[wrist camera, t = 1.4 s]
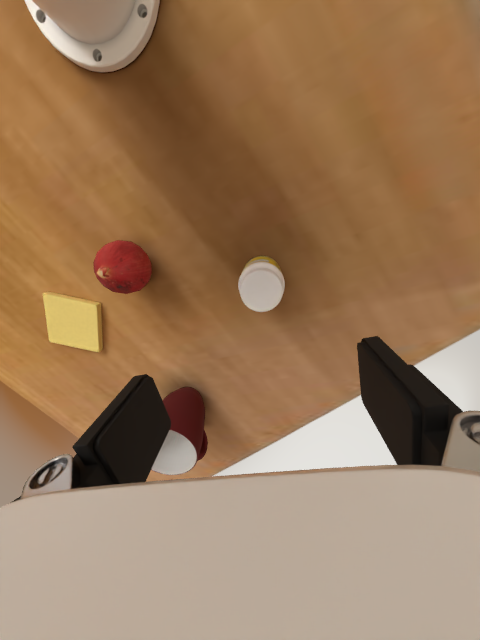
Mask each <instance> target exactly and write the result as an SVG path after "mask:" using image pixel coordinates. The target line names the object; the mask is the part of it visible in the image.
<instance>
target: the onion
mask: <svg viewBox="0 0 480 640" xmlns="http://www.w3.org/2000/svg"><path fill="white" fill-rule="evenodd" d="M94 272H95V274H96V277H97V279H98V280H99V281H100V282H101V283H102V285H103V286H105V287H106V288H108V289H109V290H111V291H113V292H118V293H124V294H128V293H132V292H136V291H140V290H141V289H142V288H143V287H144V286H145V285H146V284H147V283H148V282H149V280H150V277H151V273H152V270H151V262H150V260H149V257H148V255H147V254H146V253H145V252H144V250H143V249H142V248H141V247H139V246H138V245H136V244H134V243H133V242H128V241H118V240H117V241H114V242H111V243H108V244H106V245H104V246H103V247H102V248H101V249H100V250H99V251H98V252H97V254H96V257H95V260H94Z"/></svg>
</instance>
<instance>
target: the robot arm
mask: <svg viewBox="0 0 480 640" xmlns="http://www.w3.org/2000/svg"><path fill="white" fill-rule="evenodd" d="M25 3H26V5H27V7H28V9H29V11H30V13H31V15H32V17H33V19H34V21H35V22H36V24H37V25H38V27H39V28H40V30H41V32H42V33H43V35H44V36H45V37H46V38H47V39H48V40H49V41H50V43H51V44H52V45H53V46H54V47H55V48H56V49H57V50H58V51H60V52H61V53H62V54H63V55H64V56H65V57H66V58H68V59H69V60H71V61H72V62H74V63H75V64H77V65H78V66H80V67H83V68H85V69H88V70H90V71H96V72H112V71H116V70H118V69H121V68H123V67H125V66H127V65H128V64H129V63H131V62H132V61H134V60H135V59H136V57H137V56H138V55H139V54H140V53H141V52H142V50H143V49H144V47H145V46H146V44H147V42H148V40H149V39H150V37H151V34H152V31H153V28H154V26H155V23H156V19H157V14H158V8H159V3H160V0H25ZM357 350H358V362H359V374H360V386H361V397H362V400H363V404H364V406H365V407H366V409H367V411H368V413H369V415H370V416H371V418H372V420H373V422H374V424H375V425H376V427H377V429H378V431H379V432H380V434H381V436H382V438H383V440H384V441H385V443H386V445H387V447H388V449H389V450H390V452H391V454H392V456H393V457H394V459H395V461H396V463H397V465H381V466H360V467H344V468H325V469H312V470H298V471H283V472H269V473H256V474H255V473H254V474H242V475H229V476H215V477H202V478H189V479H176V480H164V481H152V482H145V481H146V479H147V477H148V475H149V473H150V470H151V468H152V466H153V464H154V462H155V460H156V458H157V456H158V453H159V451H160V449H161V447H162V445H163V443H164V441H165V439H166V436H167V434H168V432H169V430H170V428H171V419H170V417H169V415H168V412H167V410H166V408H165V406H164V403H163V401H162V399H161V396H160V394H159V392H158V389H157V387H156V385H155V383H154V380H153V378H152V377H149V376H148V375H147V374H145V375H139V376H134V377H133V378H132V379H131V380H130V382H129V383H128V384H127V385H126V386H125V387H124V388H123V390H122V391H121V392H120V393H119V394H118V395H117V396H116V398H115V399H114V400H113V401H112V402H111V403H110V404H109V406H108V407H107V408H106V409H105V410H104V411H103V412H102V413H101V415H100V416H99V417H98V418H97V419H96V420H95V421H94V423H93V424H92V425H91V426H90V427H89V428H88V429H87V431H86V432H85V433H84V434H83V435H82V436H81V437H80V439H79V440H78V441H77V442H76V443H75V444H74V445H73V449H74V450H75V452H76V453H77V454H76V455H75V457H74V458H73V457H72V456H71V455H70V454H63V455H59V456H57V457H55V458H52V459H51V460H49V461H47V462H46V463H44V464H43V465H42V466H41V467H39V468H38V469H37V470H36V471H35V472H34V473H33V474H32V475H31V476H30V477H29V478H28V480H27V481H26V483H25V485H24V487H23V491H22V495H21V496H20V497H19V498H17V499H16V500H14V501H12V502H11V503H9V504H7V505H5V506H3V507H0V640H480V411H466V412H463V411H462V410H461V409H460V408H459V407H458V406H456V405H455V404H454V403H453V402H452V401H451V400H450V399H449V398H448V397H447V396H446V395H445V394H444V393H442V392H441V391H440V390H439V389H438V388H437V387H436V386H435V385H434V384H433V383H432V382H431V381H430V380H428V379H427V378H426V377H425V376H424V375H423V374H422V373H421V372H420V371H419V370H417V368H415V367H414V366H413V365H407V364H406V363H405V362H404V361H403V360H402V359H401V358H400V357H399V356H398V355H397V354H396V353H395V352H394V351H393V350H392V349H391V348H390V347H389V346H388V345H387V344H386V343H384V342H383V341H382V340H381V339H380V338H379V337H378V336H375V337H369V338H363V339H362V341H361V343H358V344H357Z"/></svg>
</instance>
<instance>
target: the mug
mask: <svg viewBox="0 0 480 640" xmlns="http://www.w3.org/2000/svg"><path fill="white" fill-rule="evenodd" d="M163 403H164V406H165V408H166V410H167V412H168V415H169V417H170V419H171V428H170V430H169V432H168V434H167V436H166V439H165V441H164V443H163V445H162V447H161V449H160V451H159V453H158V456H157V458H156V460H155V462H154V464H153V466H152V468H151V470H153V471H155V472H158V473H161V474H166V475H179V474H183V473H186V472H188V471H190V470H191V469H192V468H193V467H194V466H195V464H196V462H197V461H198V460H200V459H202V458H203V457H204V455H205V453H206V451H207V445H208V441H207V436H206V433H205V431H204V420H205V407H204V403H203V400H202V398H201V395H200V394H199V392H198V391H197V390H195V389H194V388H191V387H183V388H180V389H178V390H176V391H174V392H172V393H170V394H169V395H168V396H166V397H165V398H164V400H163Z"/></svg>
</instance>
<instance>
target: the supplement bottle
mask: <svg viewBox="0 0 480 640" xmlns="http://www.w3.org/2000/svg"><path fill="white" fill-rule="evenodd" d="M238 286H239V292H240V296H241V299H242V301H243V303H244V304H245V305H246V306H247V307H248V308H250V309H251V310H254V311H257V312H265V311H269V310H271V309H273V308H274V307H276V306H277V305H278V304H279V302H280V301H281V298H282V295H283V293H284V288H285V282H284V277H283V275H282V272H281V270H280V267H279V265H278V264H277V262H276V261H275V260H273V259H272V258H270V257H267V256H257V257H254V258H252V259H251V260H249V261H248V262H247V264H246V265H245V267H244V269H243V271H242V273H241V275H240V278H239V284H238Z"/></svg>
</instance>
